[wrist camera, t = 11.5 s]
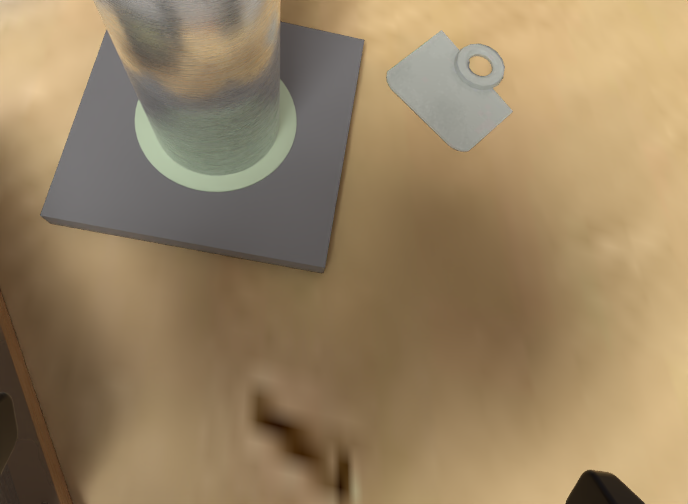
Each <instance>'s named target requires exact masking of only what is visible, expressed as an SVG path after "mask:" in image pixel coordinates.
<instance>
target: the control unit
mask: <svg viewBox="0 0 688 504" xmlns="http://www.w3.org/2000/svg"><path fill="white" fill-rule="evenodd" d="M0 392H5V393H8V394H9V395H10V396H11V397H12V400H13V405H14V411H15V416H16V422H17V428H18V437H17V441H16V444H15V447H14V449H13V451H12V453H11V455H10V457H9V459H8V461H7V463H6V465H5V467H4V469H3V471H2V473H1V475H0V504H73V503H72V500H71V497H70V494H69V491H68V488H67V485H66V482H65V479H64V476H63V473H62V471H61V468H60V465H59V462H58V459H57V456H56V453H55V450H54V447H53V444H52V441H51V438H50V435H49V432H48V429H47V426H46V423H45V420H44V417H43V414H42V411H41V408H40V405H39V403H38V400H37V397H36V394H35V391H34V388H33V385H32V382H31V379H30V376H29V373H28V370H27V367H26V364H25V361H24V358H23V355H22V352H21V349H20V346H19V343H18V340H17V337H16V335H15V332H14V329H13V326H12V323H11V320H10V317H9V314H8V311H7V308H6V305H5V302H4V299H3V296H2V293H1V290H0Z"/></svg>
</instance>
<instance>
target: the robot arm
mask: <svg viewBox="0 0 688 504" xmlns="http://www.w3.org/2000/svg"><path fill="white" fill-rule="evenodd" d="M17 437H18V428H17V422H16V416H15V411H14V405H13V400H12V397H11V396H10V395H9V394H8V393H5V392H0V475H1V473H2V471H3V469H4V467H5V465H6V463H7V461H8V459H9V457H10V455H11V453H12V451H13V449H14V447H15V444H16V441H17ZM566 504H645V503H644V502H643V501H642V500H641V499H640V498H639V497H638V496H637V495H635V494H634V493H633V492H632V491H631V490H630V489H629V488H628V487H627V486H626V485H625V484H624V483H623V482H622V481H621V480H620V479H619V478H617V477H616V476H615V475H613V474H611V473H609V472H602V471H595V470H587V471H585V472H584V473H583V474H582V475H581V477H580V478H579V480H578V482H577V483H576V485H575V487H574V488H573V490H572V492H571V493H570V495H569V497H568V498H567V500H566Z"/></svg>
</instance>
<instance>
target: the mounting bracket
mask: <svg viewBox="0 0 688 504" xmlns="http://www.w3.org/2000/svg"><path fill="white" fill-rule="evenodd" d="M473 56H481V57H484V58H485V59H487V60H488V61H489V62H490V64H491V67H492V72H491V73H490V74H489V75H487V76H479V75H476V74H474V73H473V72H472V71H471V70H470V68H469V63H470V62H469V59H470V58H471V57H473ZM504 68H505V67H504V63H503V60H502V58H501V57H500V56H499V54H498V53H497V52H496V51H495V50H493V49H492V48H490V47H489V46H486V45H482V44H470V45H468V46H466V47H464V48H462V49H461V50H459V49H458V48H457V47H456V46H455V45H454V44H453V42H452V41H451V40H450V39H449V38H448V37H447V36H446V35H445V33H444V32H443V31H442V30H441V31H440V32H439V33H437V34H436V35H435V36H433V37H432V38H431V39H429V40H428V41H427V42H425V43H424V44H423V45H422V46H420V47H419V48H418V49H416V50H415V51H414V52H412V53H411V54H410V55H408V56H407V57H406V58H404V59H403V60H402V61H401V62H399V63H398V64H397V65H395V66H394V67H393V68H391V69H390V70H389V71H387V77H386V78H387V83H388V85H389V87H390V88H391V89H392V91H393V92H394V93H395V94H396V95H397V96H398V97H400V98H401V99H402V100H403V101H404V102H405V103H406V104H407V105H408V106H409V107H410V108H411V109H412V110H413V111H414V112H415V113H416V114H417V115H418V116H419V117H420V118H421V119H422V120H423V121H424V122H425V123H426V124H427V125H428V126H429V127H430V128H431V129H432V130H433V131H434V132H435V133H436V134H437V135H438V136H439V137H440V138H441V139H442V140H443V141H444V142H445V143H447V144H448V145H449V146H450V147H451V148H453V149H455V150H457V151H462V152H466V151H469V150H471V149H472V148H473V147H474V146H475V145H476V144H477V143H478V142H479V141H481V140H482V139H483V138H484V137H485V136H486V135H487V134H488V133H490V132H491V131H492V130H493V129H494V128H495V127H496V126H497V125H498V124H500V123H501V122H502V121H503V120H504V119H505V118H506V117H507V116H509V115H510V114H511V113H512V112H513V111H512V110H511V109H510V108H509V106H508V105H507V104H506V103H505V102H504V101H503V100H502V98H501V97H500V96H499V95H498V94H497V93H496V92H495V90H494V89H493V88H494V87H495V86H497V85H499V83H500V82H501V80H502V79H503V75H504Z"/></svg>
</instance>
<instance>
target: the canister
mask: <svg viewBox="0 0 688 504" xmlns="http://www.w3.org/2000/svg"><path fill="white" fill-rule="evenodd" d="M94 2H95V5H96V7H97V9H98V11H99V13H100V15H101V18H102V20H103V22H104V24H105V26H106V29H107V31H108V33H109V35H110V37H111V39H112V42H113V44H114V46H115V48H116V50H117V53H118V55H119V57H120V59H121V61H122V63H123V66H124V68H125V70H126V72H127V74H128V77H129V79H130V81H131V83H132V85H133V88H134V90H135V92H136V94H137V96H138V98H139V101H140V103H141V105H142V107H143V109H144V112H145V114H146V116H147V118H148V120H149V122H150V125H151V127H152V129H153V131H154V133H155V136H156V138H157V140H158V142H159V144H160V146H161V147H162V149H163V150H164V151H165V153H166V154H167V155H168V156H169V157H170V158H171V159H172V160H173V161H175V162H176V163H177V164H179V165H180V166H182V167H184V168H186V169H188V170H190V171H193V172H196V173H200V174H204V175H212V176H221V175H230V174H234V173H238V172H241V171H244V170H246V169H248V168H250V167H252V166H253V165H255V164H256V163H258V162H259V161H260V160H261V159H262V158H264V157H265V156H266V154H267V153H268V152H269V151H270V149H271V148H272V146H273V145H274V142H275V140H276V138H277V135H278V131H279V116H280V2H281V0H94Z"/></svg>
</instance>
